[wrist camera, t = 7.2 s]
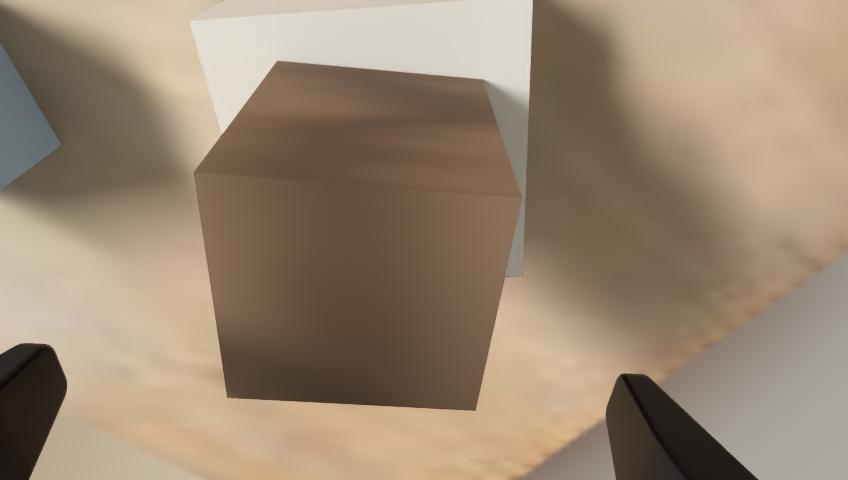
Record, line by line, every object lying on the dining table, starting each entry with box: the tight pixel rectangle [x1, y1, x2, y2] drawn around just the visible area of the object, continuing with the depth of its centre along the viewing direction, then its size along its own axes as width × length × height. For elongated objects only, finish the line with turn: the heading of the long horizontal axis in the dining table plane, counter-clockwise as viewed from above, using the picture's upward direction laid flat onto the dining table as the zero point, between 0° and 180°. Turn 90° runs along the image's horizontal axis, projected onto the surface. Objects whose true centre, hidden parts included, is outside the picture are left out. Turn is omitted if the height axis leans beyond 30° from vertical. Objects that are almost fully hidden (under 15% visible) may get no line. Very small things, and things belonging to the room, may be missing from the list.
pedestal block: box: [189, 0, 533, 277], centre depth 17 cm, size 8×8×4 cm
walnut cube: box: [194, 61, 522, 411], centre depth 12 cm, size 5×5×6 cm
